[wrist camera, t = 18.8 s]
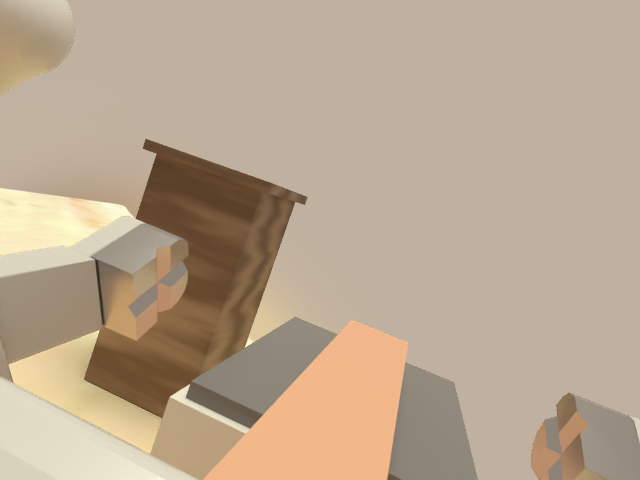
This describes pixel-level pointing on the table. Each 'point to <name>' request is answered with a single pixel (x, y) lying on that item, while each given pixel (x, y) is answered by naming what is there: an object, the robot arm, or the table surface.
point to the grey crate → (275, 378)
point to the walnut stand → (198, 276)
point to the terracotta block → (328, 416)
